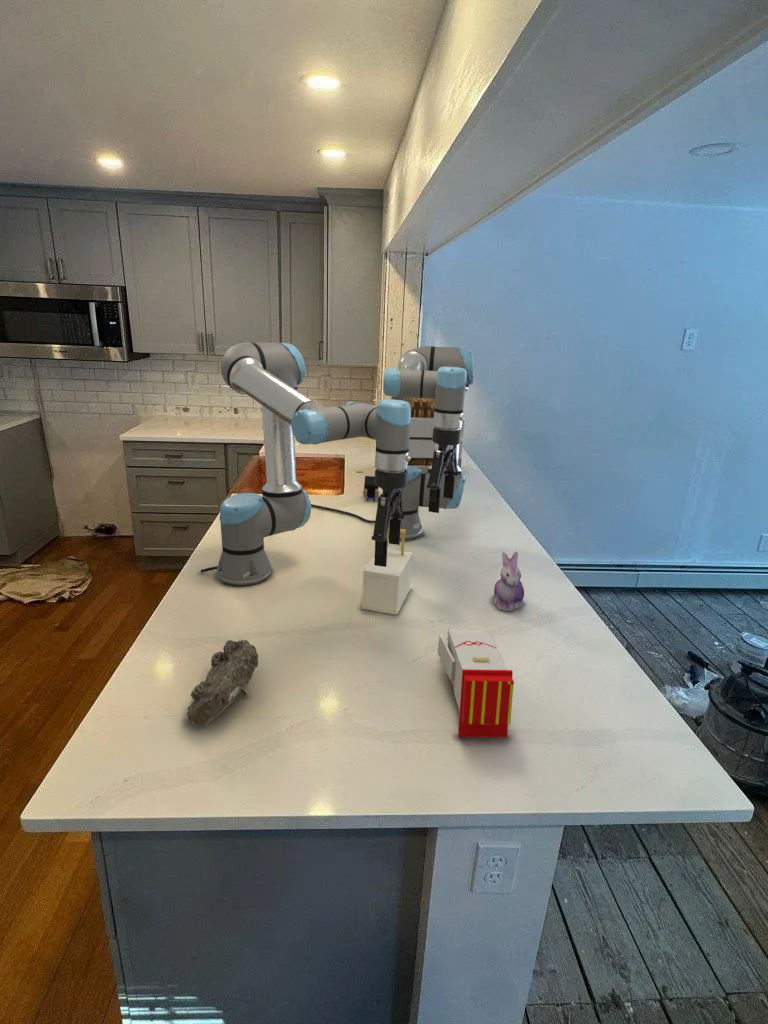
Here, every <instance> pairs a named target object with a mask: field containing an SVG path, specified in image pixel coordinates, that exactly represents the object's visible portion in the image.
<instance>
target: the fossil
mask: <svg viewBox="0 0 768 1024" xmlns="http://www.w3.org/2000/svg"><path fill="white" fill-rule="evenodd" d="M222 648H223V652H222V651H216V652H214V654H212V656H211V660H210V663H211V664H210V667H211V668H210V670H209V671H208V673H207V675H206V678H205V680H202V681H200V682H199V683H198V684H197V685H195V686H194V688H193V689H192V692H191V693H190V696H191V698H192V702H191V704H190V705H189V706H188V707H187V709H186V710H187V711H186V717H187V722H188V723H192V724H194V725H195V726H196V725H202V724H206V723H208V724H211V722H213V721H214V720H215V719H216V717H218V716H219V715H220V714H222V713H223V711H225V709H226V708H227V707H228V706H230V704H232V703H233V702H234V700H235V699H236V696H237V695H239V694H240V692H241V693H242V695H244V696H248V693H247V692H246V691H245V690H244V688H243V687H244V686H245V684H248V683H250V681H251V679H252V678H253V675H254V673H255V671H256V669H257V668H258V667H259V654H258V650H257V648H256V647H255V645H253V644H251V643H250V641H248V639H240V640H238V641H237V640H236V641H235V640H232V639H228V640H227V641H225V643H224V645H223V647H222Z"/></svg>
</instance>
